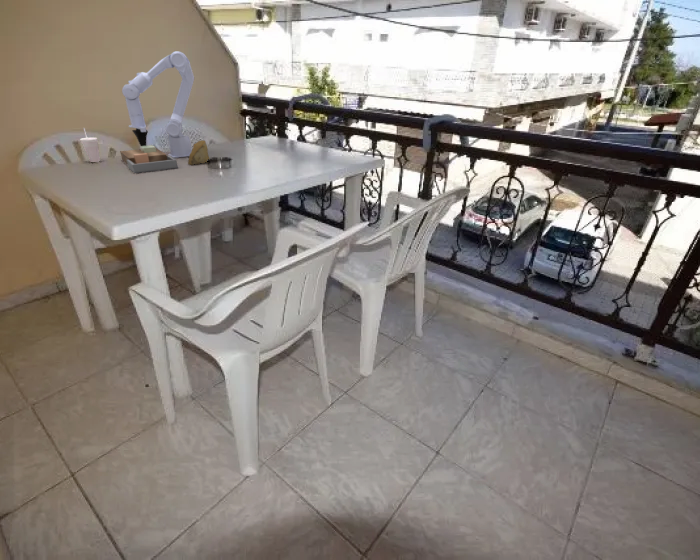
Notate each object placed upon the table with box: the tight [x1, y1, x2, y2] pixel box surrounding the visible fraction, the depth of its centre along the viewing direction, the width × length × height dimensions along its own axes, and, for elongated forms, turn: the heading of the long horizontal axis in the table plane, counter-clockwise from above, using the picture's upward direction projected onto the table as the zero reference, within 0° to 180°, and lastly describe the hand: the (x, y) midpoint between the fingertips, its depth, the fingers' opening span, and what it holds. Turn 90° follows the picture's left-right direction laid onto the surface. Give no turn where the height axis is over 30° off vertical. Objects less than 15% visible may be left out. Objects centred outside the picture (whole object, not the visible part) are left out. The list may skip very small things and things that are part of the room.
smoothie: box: [79, 127, 101, 163], centre depth 162 cm, size 6×6×14 cm
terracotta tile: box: [133, 153, 149, 164], centre depth 159 cm, size 5×5×2 cm
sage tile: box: [140, 144, 157, 153], centre depth 169 cm, size 5×5×2 cm
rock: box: [187, 140, 210, 166], centre depth 169 cm, size 11×9×10 cm
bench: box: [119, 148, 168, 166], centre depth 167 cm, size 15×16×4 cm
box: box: [126, 155, 179, 174], centre depth 159 cm, size 17×10×4 cm, turn 129°
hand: (143, 146), depth 174 cm, fingers closed
